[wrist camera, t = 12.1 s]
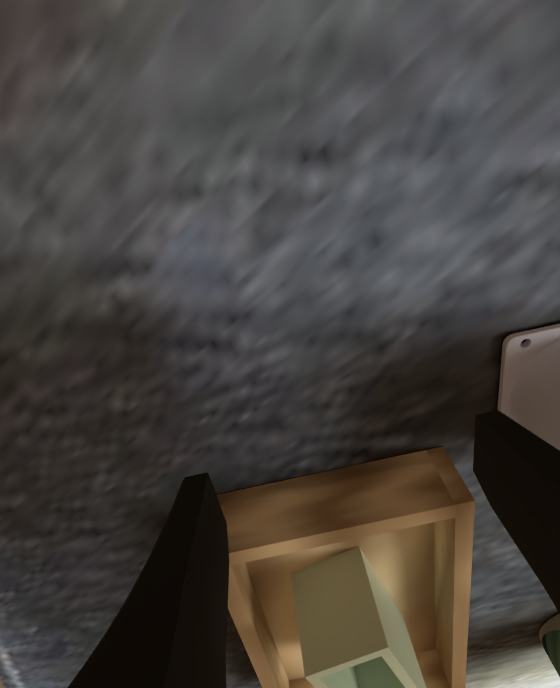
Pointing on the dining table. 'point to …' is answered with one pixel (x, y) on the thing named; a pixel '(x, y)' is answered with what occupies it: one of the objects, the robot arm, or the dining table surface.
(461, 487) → the pine crate
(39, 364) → the dining table surface
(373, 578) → the small crate
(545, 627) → the lotion bottle
